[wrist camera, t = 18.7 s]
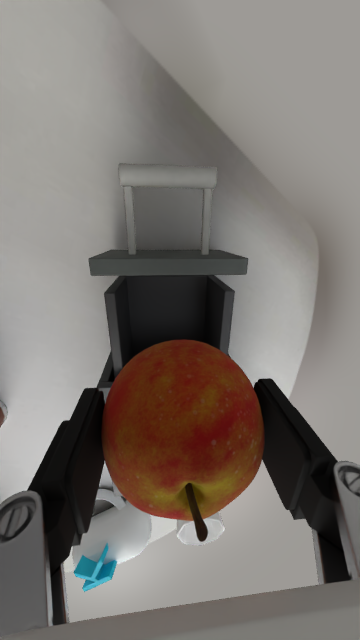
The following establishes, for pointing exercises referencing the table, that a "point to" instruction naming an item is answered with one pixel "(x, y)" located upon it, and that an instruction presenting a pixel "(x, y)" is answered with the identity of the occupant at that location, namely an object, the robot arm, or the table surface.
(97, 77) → the table surface
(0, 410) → the coffee cup
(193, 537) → the cup
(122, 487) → the fruit
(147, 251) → the grey drawer
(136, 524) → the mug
